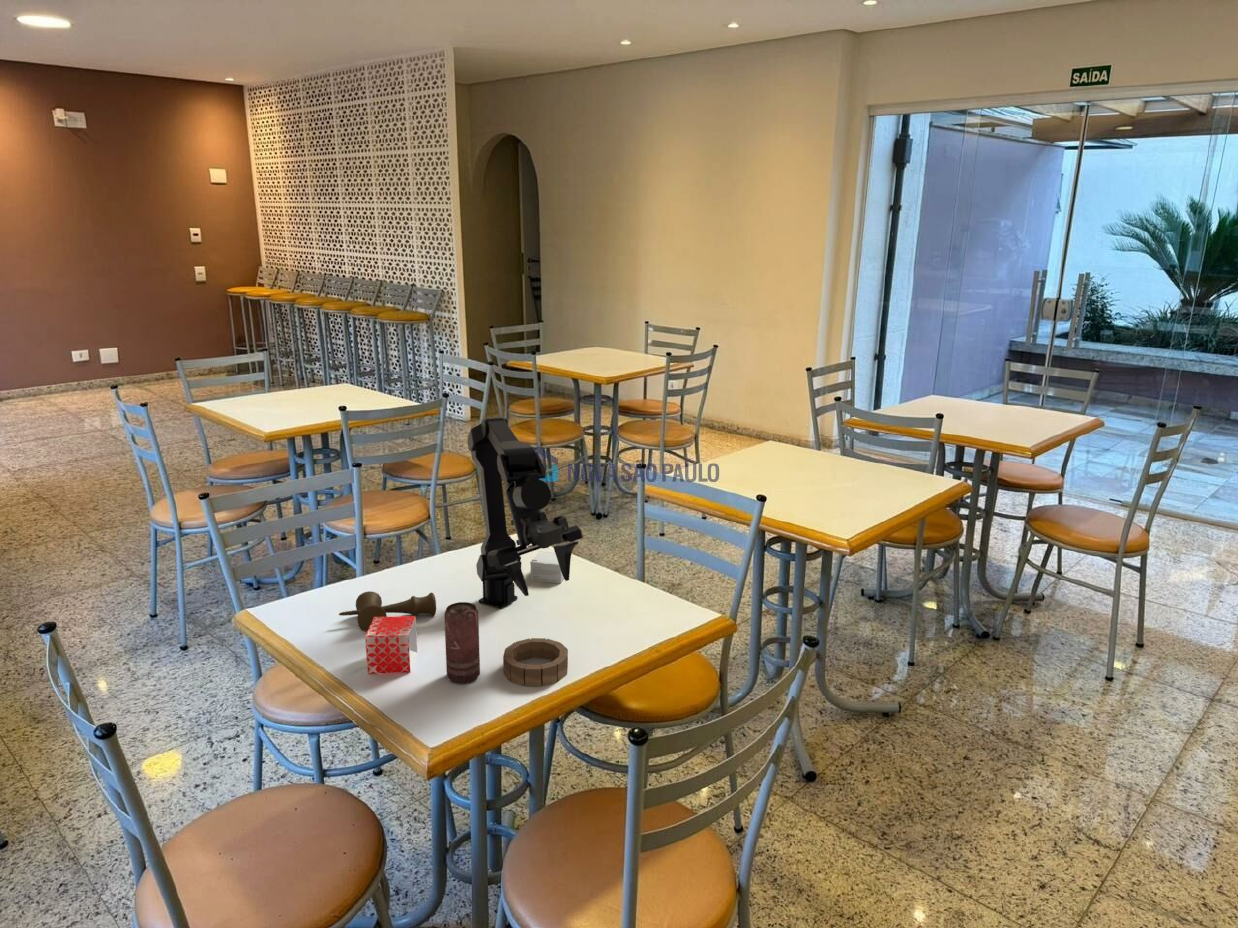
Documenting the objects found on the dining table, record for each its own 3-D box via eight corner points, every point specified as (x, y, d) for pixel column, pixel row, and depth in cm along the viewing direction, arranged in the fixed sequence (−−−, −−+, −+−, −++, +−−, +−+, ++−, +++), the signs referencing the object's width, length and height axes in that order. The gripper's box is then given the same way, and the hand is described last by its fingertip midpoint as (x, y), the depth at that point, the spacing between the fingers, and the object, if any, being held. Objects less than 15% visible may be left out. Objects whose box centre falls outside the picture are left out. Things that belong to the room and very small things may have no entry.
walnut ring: (491, 675, 153) (490, 658, 152) (528, 648, 163) (528, 632, 162) (544, 692, 148) (544, 675, 147) (579, 664, 158) (579, 647, 157)
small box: (570, 572, 202) (570, 553, 201) (561, 584, 195) (561, 564, 193) (539, 569, 204) (539, 550, 202) (529, 581, 196) (529, 561, 195)
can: (474, 686, 149) (472, 616, 145) (441, 682, 150) (438, 613, 147) (486, 670, 155) (484, 602, 151) (454, 666, 156) (452, 599, 152)
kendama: (439, 625, 174) (340, 637, 167) (432, 608, 183) (338, 618, 175) (439, 599, 173) (339, 609, 165) (432, 583, 181) (337, 592, 174)
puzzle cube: (376, 653, 161) (374, 616, 158) (417, 652, 161) (415, 616, 159) (367, 674, 153) (365, 635, 151) (410, 673, 153) (408, 635, 151)
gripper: (500, 521, 147) (523, 604, 147) (586, 494, 157) (607, 572, 157) (476, 525, 156) (498, 603, 156) (558, 499, 166) (579, 573, 166)
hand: (547, 587), depth 159 cm, fingers open, 9 cm apart
